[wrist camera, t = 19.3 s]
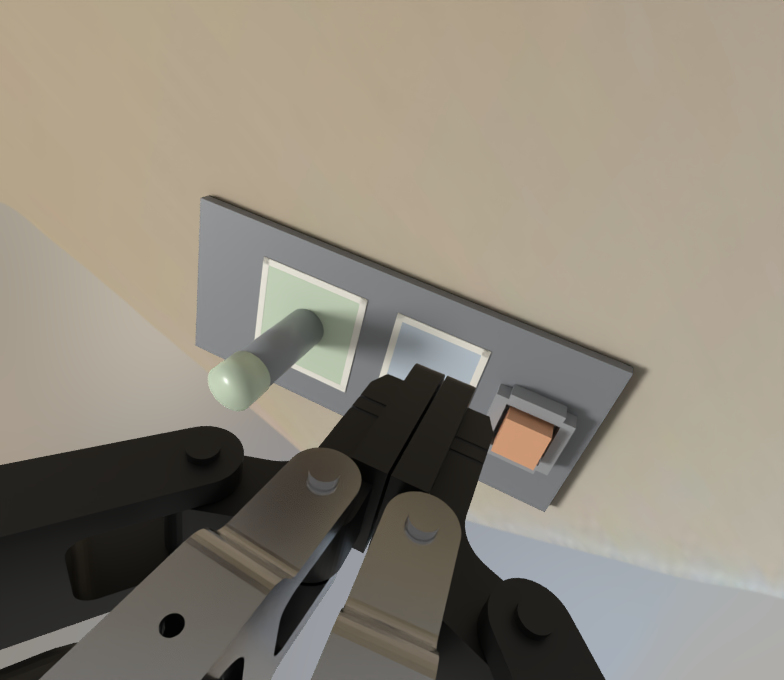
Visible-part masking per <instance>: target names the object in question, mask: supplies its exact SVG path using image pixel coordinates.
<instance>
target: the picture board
mask: <svg viewBox="0 0 784 680" xmlns="http://www.w3.org/2000/svg"><path fill="white" fill-rule="evenodd" d="M296 309H307V310H310V311H312V312H313V313H314V314H316V315H317V316H318V318H319V319H320V320H321V322H322V325H323V329H324V333H323V337H322V339H321V340H320V341H319V342H318V343H317V344H316V345H315V346H314V347H313V348H312V349H311V350H309V351H308V352H307V353H306V354H305V355H304V356H303V357H302V358H301V359H299V360H298V361H297V362H296V363H295V364H294V365H293V366H292V367H291V368H289V369H288V370H287V371H286V372H285V373H284V374H283V375H282V376H281V377H279V378H278V379H277V380H276V381H275V382H274V383H275V384H277V385H279V386H281V387H284V388H286V389H288V390H290V391H292V392H294V393H296V394H298V395H300V396H302V397H304V398H307V399H309V400H311V401H313V402H315V403H317V404H319V405H321V406H323V407H325V408H328V409H330V410H332V411H334V412H336V413H338V414H340V415H342V416H344V415H345V414H346V412H347V411H348V410H349V409H350V407H352V405H353V404H354V402H355V401H356V400H357V399H358V397H360V395H361V394H362V392H363V391H364V390H365V388H366V387H367V386H368V385H369V383H370V382H371V381H373V380H375V379H378V378H380V377H382V376H384V375H386V374H390V375H392V376H394V377H397V378H399V379H401V380H404V379H405V378H406V377H407V375H408V374H409V372H410V371H411V369H412V368H413V367H414V365H415V364H416V363H418V364H420V365H423V366H425V367H428V368H430V369H432V370H435V371H437V372H440V373H442V374H444V375H445V378H446V377H447V376H450V377H452V378H454V379H457V380H459V381H462V382H464V383H467V384H469V385H471V386H474V387H476V390H475V392H474V395H473V398H472V400H471V403H470V405H469V408H470V409H473V410H475V411H477V412H480V413H482V414H484V415H487V416H489V417H490V421H491V425H492V429H493V433H494V435H493V438H492V441H491V444H490V447H489V450H488V452H487V456H486V459H485V462H484V464H483V468H482V471H481V474H480V476H479V479H478V481H480V482H483V483H485V484H487V485H489V486H491V487H493V488H495V489H497V490H499V491H501V492H503V493H506V494H508V495H510V496H512V497H514V498H516V499H518V500H520V501H522V502H524V503H527V504H529V505H531V506H533V507H535V508H537V509H539V510H541V511H543V512H545V511H546V509H547V508H548V506H549V505H550V503H551V501H552V500H553V498H554V497H555V495H556V494H557V492H558V490H559V489H560V487H561V486H562V484H563V483H564V481H565V480H566V478H567V476H568V475H569V473H570V472H571V470H572V469H573V467H574V465H575V464H576V462H577V461H578V459H579V458H580V456H581V454H582V453H583V451H584V450H585V448H586V447H587V445H588V444H589V442H590V440H591V439H592V437H593V436H594V434H595V433H596V431H597V429H598V428H599V426H600V425H601V423H602V422H603V420H604V419H605V417H606V415H607V414H608V412H609V411H610V409H611V408H612V406H613V404H614V403H615V401H616V400H617V398H618V397H619V395H620V394H621V392H622V390H623V389H624V387H625V386H626V384H627V383H628V381H629V379H630V378H631V376H632V375H633V367H631V366H628V365H626V364H623V363H621V362H618V361H616V360H614V359H611V358H609V357H606V356H604V355H601V354H599V353H596V352H594V351H591V350H589V349H586V348H584V347H581V346H579V345H576V344H574V343H571V342H569V341H567V340H564V339H562V338H559V337H557V336H554V335H552V334H549V333H547V332H544V331H542V330H539V329H537V328H534V327H532V326H529V325H527V324H525V323H522V322H520V321H517V320H515V319H512V318H510V317H507V316H505V315H502V314H500V313H497V312H495V311H492V310H490V309H487V308H485V307H483V306H480V305H478V304H475V303H473V302H470V301H468V300H465V299H463V298H460V297H458V296H455V295H453V294H450V293H448V292H445V291H443V290H440V289H438V288H436V287H433V286H431V285H428V284H426V283H423V282H421V281H418V280H416V279H413V278H411V277H408V276H406V275H403V274H401V273H398V272H396V271H394V270H391V269H389V268H386V267H384V266H381V265H379V264H376V263H374V262H371V261H369V260H366V259H364V258H361V257H359V256H356V255H354V254H351V253H349V252H347V251H344V250H342V249H339V248H337V247H334V246H332V245H329V244H327V243H324V242H322V241H319V240H317V239H314V238H312V237H309V236H307V235H305V234H302V233H300V232H297V231H295V230H292V229H290V228H287V227H285V226H282V225H280V224H277V223H275V222H272V221H270V220H267V219H265V218H263V217H260V216H258V215H255V214H253V213H250V212H248V211H245V210H243V209H240V208H238V207H235V206H233V205H230V204H228V203H225V202H223V201H220V200H218V199H216V198H213V197H211V196H205V197H202V198H201V203H200V231H199V260H198V289H197V318H196V346H198V347H200V348H202V349H204V350H206V351H208V352H210V353H212V354H214V355H217V356H219V357H221V358H223V359H227V358H228V357H229V356H231V355H232V354H233V353H235V352H238V351H240V350H241V349H243V348H244V347H245V346H247V345H248V344H249V343H251V342H252V341H253V340H255V339H256V338H258V337H259V336H260V335H262V334H263V333H264V332H266V331H267V330H268V329H270V328H271V327H273V326H274V325H275V324H277V323H278V322H279V321H281V320H282V319H284V318H285V317H286V316H288V315H289V314H290V313H292V312H293V311H295V310H296ZM445 378H444V380H445ZM510 406H513V407H515V408H517V409H519V410H522V411H524V412H526V413H529V414H531V415H533V416H535V417H538V418H540V419H542V420H544V421H547V422H549V423H551V424H554V428H553V434H552V439H551V441H550V442H549V444H548V446H547V448H546V449H545V451H544V453H543V454H542V456H541V458H540V460H539V461H538V463H537V465H536V467H535V468H534V470H531V469H529V468H527V467H525V466H523V465H520V464H518V463H516V462H514V461H512V460H510V459H507V458H505V457H503V456H501V455H499V454H497V453H494V452H492V451H491V449H492V446H493V443H494V440H495V437H496V434H497V432H498V429H499V427H500V425H501V423H502V421H503V419H504V417H505V415H506V413H507V411H508V409H509V407H510Z"/></svg>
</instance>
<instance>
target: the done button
mask: <svg viewBox="0 0 784 680" xmlns="http://www.w3.org/2000/svg"><path fill="white" fill-rule="evenodd" d="M553 428H554V424H551V423H549V422H547V421H544V420H542V419H540V418H538V417H535V416H533V415H531V414H529V413H526V412H524V411H522V410H519V409H517V408H515V407H513V406H510V407H509V409H508V411H507V413H506V415H505V417H504V419H503V421H502V423H501V425H500V427H499V429H498V432H497V434H496V437H495V440H494V443H493V446H492V449H491V451H492V452H494V453H497V454H499V455H501V456H503V457H505V458H507V459H510V460H512V461H514V462H516V463H518V464H520V465H523V466H525V467H527V468H529V469H531V470H534V468H535V467H536V465H537V463H538V461H539V460H540V458H541V456H542V454H543V453H544V451H545V449H546V448H547V446H548V444H549V442H550V441H551V439H552V434H553Z"/></svg>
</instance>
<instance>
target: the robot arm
mask: <svg viewBox="0 0 784 680" xmlns="http://www.w3.org/2000/svg"><path fill="white" fill-rule="evenodd" d="M444 378H445V375H444V374H442V373H440V372H437V371H435V370H432V369H430V368H428V367H425V366H423V365H420V364H418V363H416V364H415V365H414V367H413V368H412V369H411V371H410V372H409V374H408V375H407V377H406V378H405V379H404V380H401V379H399V378H397V377H394V376H392V375H390V374H386V375H384V376H382V377H380V378H378V379H375V380H373V381H371V382H370V383H369V385H368V386H367V387H366V388H365V390H364V391H363V392H362V394H361V395H360V397H358V399H357V400H356V401H355V402H354V404H353V405H352V407H350V409H349V410H348V411H347V412H346V414H345V415H344V416H343V417H342V419H341V420H340V421H339V422H338V424H337V425H336V426H335V427H334V429H333V430H332V431H331V432H330V434H329V435H328V436H327V437H326V439H325V440H324V441H323V442H322V444H321V445H320V446H319V447H318V448H311V449H307V450H304V451H302V452H300V453H298V454H297V455H295V456H294V457H293V458H292V459H291V460H290V461H271V460H266V459H260V458H254V457H249V456H244V450H243V446H242V444H241V442H240V440H239V439H238V438H237V437H236V436H235V435H234V434H232V433H231V432H229V431H227V430H225V429H222V428H218V427H212V426H200V427H194V428H188V429H183V430H178V431H173V432H168V433H162V434H157V435H152V436H147V437H142V438H137V439H132V440H127V441H121V442H116V443H111V444H106V445H101V446H96V447H91V448H86V449H80V450H76V451H71V452H65V453H60V454H55V455H50V456H45V457H39V458H35V459H29V460H24V461H19V462H14V463H9V464H4V465H0V650H1V649H4V648H7V647H10V646H13V645H16V644H19V643H21V642H24V641H27V640H30V639H33V638H36V637H39V636H42V635H45V634H47V633H50V632H53V631H56V630H59V629H61V628H64V627H67V626H70V625H73V624H76V623H79V622H82V621H85V620H88V619H90V618H93V617H96V616H99V615H102V614H104V613H107V612H110V613H109V614H108V615H106V616H105V617H104V619H102V620H101V621H100V622H99V623H98V624H97V625H96V626H95V627H94V628H93V629H92V630H91V631H90V632H89V633H87V634H86V635H85V637H83V638H82V639H81V640H80V641H79V642H78V643H73V644H69V645H66V646H62V647H59V648H54V649H52V650H49V651H46V652H44V653H41V654H38V655H36V656H33V657H31V658H28V659H26V660H23V661H21V662H18V663H16V664H13V665H11V666H8V667H5V668H3V669H0V680H271V678H272V676H273V674H274V672H275V670H276V669H277V667H278V665H279V664H280V662H281V660H282V659H283V657H284V656H285V654H286V653H287V651H288V650H289V648H290V647H291V645H292V644H293V642H294V641H295V639H296V638H297V636H298V635H299V633H300V632H301V630H302V629H303V627H304V626H305V624H306V623H307V621H308V620H309V618H310V617H311V615H312V614H313V612H314V611H315V609H316V607H317V606H318V604H319V603H320V602H321V600H322V599H323V597H324V596H325V594H326V592H327V591H328V590H329V588H330V586H331V585H332V583H333V582H334V580H335V578H336V575H337V572H338V570H339V569H340V568H341V566H342V564H343V563H344V561H345V559H346V557H347V555H348V554H349V552H350V550H351V548H354V549H356V550H358V551H360V552H362V553H364V551H365V549H366V547H367V545H368V543H369V541H370V539H371V541H370V544H369V548H368V551H367V553H366V556H365V558H364V561H363V563H362V566H361V568H360V570H359V573H358V575H357V578H356V580H355V582H354V585H353V587H352V589H351V592H350V594H349V597H348V599H347V601H346V604H345V606H344V608H342V609H341V611H340V613H339V615H338V617H337V619H336V622H335V624H334V626H333V628H332V631H331V633H330V636H329V638H328V640H327V643H326V645H325V647H324V650H323V652H322V654H321V657H320V659H319V662H318V664H317V666H316V669H315V671H314V673H313V676H312V678H311V680H605V678H604V676H603V674H602V673H601V671H600V669H599V667H598V665H597V663H596V662H595V660H594V658H593V656H592V654H591V653H590V651H589V649H588V647H587V645H586V643H585V641H584V640H583V638H582V636H581V634H580V632H579V631H578V629H577V627H576V625H575V623H574V621H573V620H572V618H571V616H570V614H569V613H568V611H567V609H566V608H565V606H564V605H563V604H562V602H561V601H560V600H559V599H558V598H557V597H556V596H555V595H554V594H553V593H552V592H551V591H549V590H548V589H547V588H545V587H543V586H542V585H540V584H538V583H536V582H533V581H531V580H527V579H522V578H511V579H507V580H504V581H503V580H502V579H501V578H499V577H498V576H497V575H496V574H495V573H494V572H493V571H492V570H490V569H489V568H488V567H487V566H486V565H485V564H484V563H483V562H482V561H481V560H480V559H479V558H478V557H477V556H476V554H475V553H474V551H473V550H472V548H471V546H470V544H469V542H468V539H467V536H466V532H465V519H466V515H467V512H468V509H469V506H470V503H471V500H472V497H473V494H474V491H475V488H476V485H477V482H478V479H479V476H480V474H481V471H482V468H483V464H484V462H485V459H486V456H487V452H488V450H489V447H490V444H491V441H492V438H493V435H494V433H493V429H492V425H491V421H490V417H489V416H487V415H484V414H482V413H480V412H477V411H475V410H473V409H470V408H469V405H470V403H471V400H472V398H473V395H474V392H475V390H476V387H474V386H471V385H469V384H467V383H464V382H462V381H459V380H457V379H454V378H452V377H450V376H447V377H446V378H445V380H444ZM371 537H372V538H371Z"/></svg>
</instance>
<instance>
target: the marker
mask: <svg viewBox="0 0 784 680" xmlns="http://www.w3.org/2000/svg"><path fill="white" fill-rule="evenodd" d="M323 333H324V329H323V325H322V322H321V320H320V319H319V318H318V316H317V315H316V314H314V313H313V312H312V311H310V310H307V309H296V310H295V311H293V312H292V313H290V314H289V315H288V316H286V317H285V318H284V319H282V320H281V321H279V322H278V323H277V324H275V325H274V326H273V327H271V328H270V329H268V330H267V331H266V332H264V333H263V334H262V335H260V336H259V337H258V338H256V339H255V340H253V341H252V342H251V343H249V344H248V345H247V346H245V347H244V348H243V349H241V350H240V351H238V352H235V353H233V354H232V355H231V356H229V357H228V358H227V359H225V360H224V361H222V362H221V363H220V364H218V365H217V366H216V367H214V368H213V369H212V370H211V371H210V372H209V375H208V385H209V388H210V390H211V392H212V394H213V396H214V397H215V398H216V399H217V401H218V402H219V403H221V404H222V405H223V406H225V407H226V408H228V409H231V410H233V411H243V410H245V409H247V408H248V407H249V406H250V405H251V404H253V403H254V402H255V401H256V400H257V399H258V398H259V397H260V396H261V395H263V394H264V393H265V392H266V391H267V390H268V388H269V386H271V385H272V384H273V383H274V382H275V381H276V380H277V379H278V378H279V377H281V376H282V375H283V374H284V373H285V372H286V371H287V370H288V369H289V368H291V367H292V366H293V365H294V364H295V363H296V362H297V361H298V360H299V359H301V358H302V357H303V356H304V355H305V354H306V353H307V352H308V351H309V350H311V349H312V348H313V347H314V346H315V345H316V344H317V343H318V342H319V341H320V340H321V339H322V337H323Z"/></svg>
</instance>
